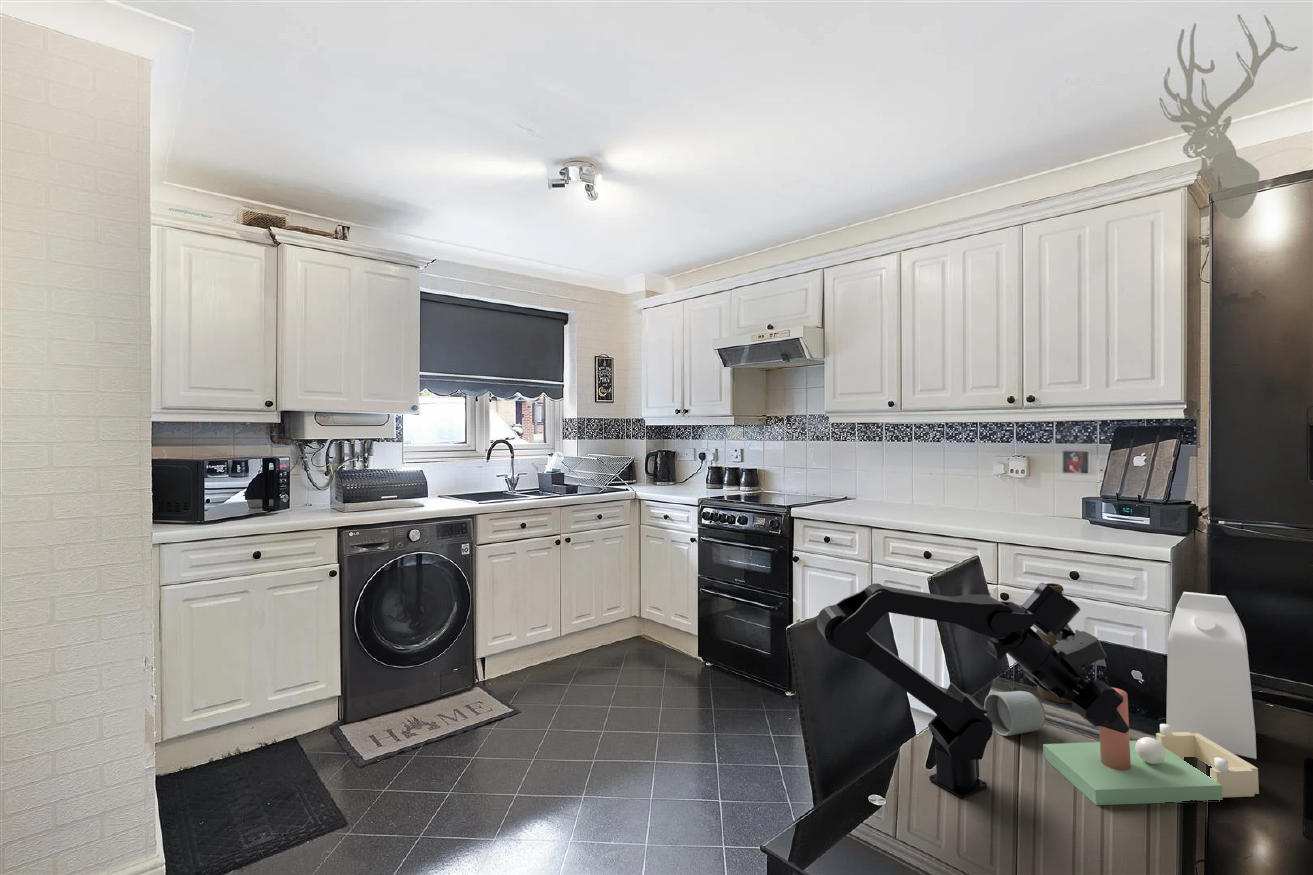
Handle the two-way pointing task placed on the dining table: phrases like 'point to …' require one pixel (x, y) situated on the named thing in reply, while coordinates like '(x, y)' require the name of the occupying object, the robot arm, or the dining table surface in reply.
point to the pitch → (1130, 776)
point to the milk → (1210, 674)
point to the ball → (1150, 750)
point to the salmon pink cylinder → (1116, 741)
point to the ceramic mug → (1014, 712)
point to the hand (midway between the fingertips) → (1107, 717)
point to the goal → (1213, 761)
